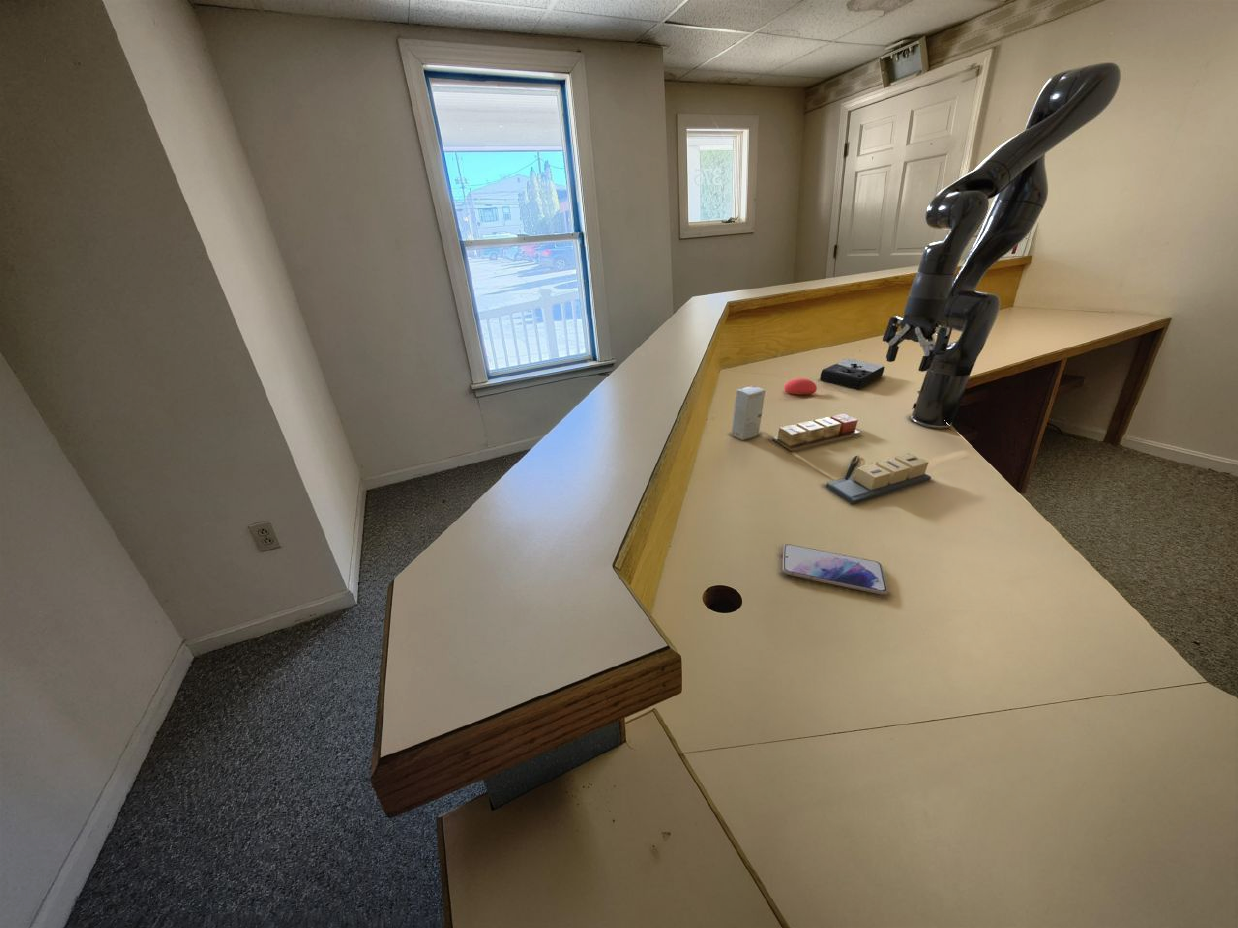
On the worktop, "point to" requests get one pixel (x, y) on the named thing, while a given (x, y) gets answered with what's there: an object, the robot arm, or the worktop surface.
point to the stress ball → (800, 386)
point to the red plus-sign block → (845, 422)
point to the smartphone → (834, 569)
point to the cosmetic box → (748, 412)
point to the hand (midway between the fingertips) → (905, 366)
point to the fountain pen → (852, 467)
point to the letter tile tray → (810, 433)
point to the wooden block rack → (881, 478)
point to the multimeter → (852, 373)
